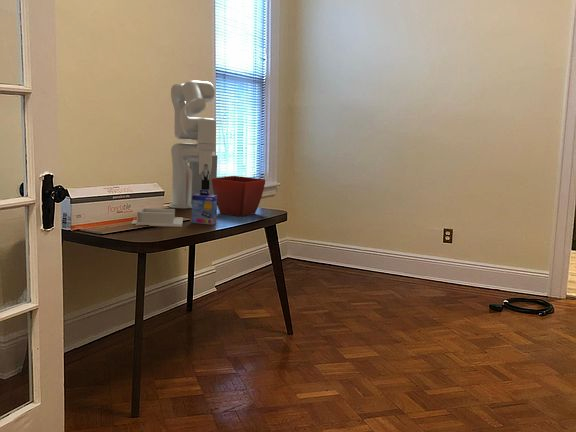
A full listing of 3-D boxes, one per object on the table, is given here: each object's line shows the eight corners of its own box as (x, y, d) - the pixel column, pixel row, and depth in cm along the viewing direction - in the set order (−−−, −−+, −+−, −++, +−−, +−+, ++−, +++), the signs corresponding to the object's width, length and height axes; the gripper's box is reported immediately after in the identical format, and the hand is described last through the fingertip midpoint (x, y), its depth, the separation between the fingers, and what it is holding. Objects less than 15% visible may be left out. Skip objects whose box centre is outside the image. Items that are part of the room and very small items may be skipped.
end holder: (136, 218, 250) (136, 207, 249) (183, 219, 253) (183, 208, 252) (131, 225, 235) (131, 213, 234) (181, 226, 238) (182, 214, 237)
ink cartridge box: (190, 223, 247) (191, 189, 244) (194, 221, 252) (195, 188, 250) (213, 224, 245) (214, 191, 243) (216, 222, 251) (217, 189, 249)
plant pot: (243, 218, 265) (244, 182, 262) (209, 213, 274) (210, 178, 271) (264, 213, 281) (266, 179, 278) (232, 209, 290) (233, 175, 287)
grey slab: (211, 200, 315) (212, 154, 311) (216, 202, 310) (217, 155, 306) (187, 201, 308) (188, 154, 304) (192, 203, 303) (193, 155, 299)
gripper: (197, 146, 251) (196, 186, 254) (197, 148, 234) (196, 190, 237) (214, 147, 252) (213, 186, 255) (215, 149, 235) (214, 190, 238)
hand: (205, 188), depth 246 cm, fingers open, 9 cm apart
